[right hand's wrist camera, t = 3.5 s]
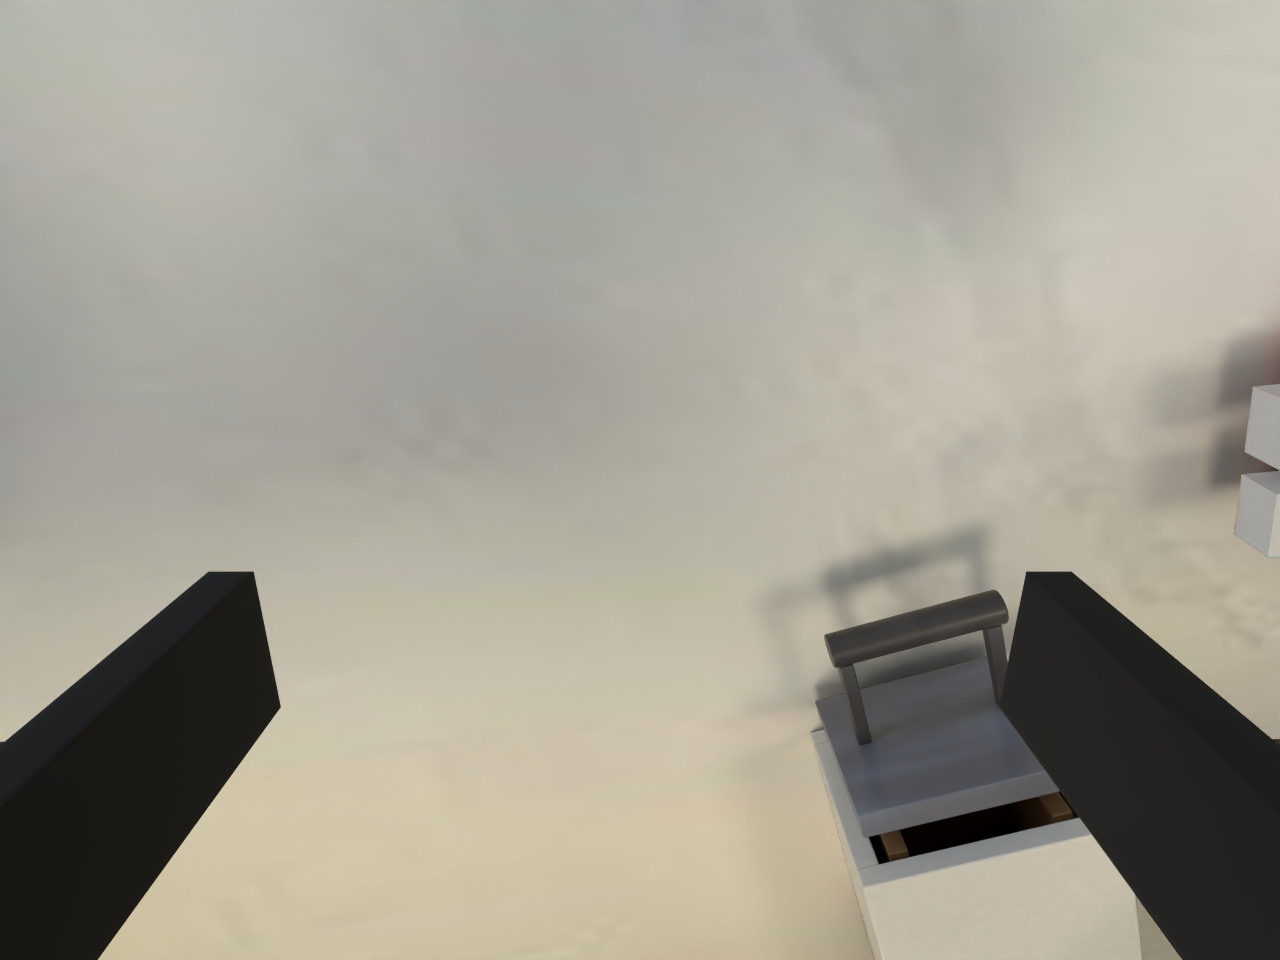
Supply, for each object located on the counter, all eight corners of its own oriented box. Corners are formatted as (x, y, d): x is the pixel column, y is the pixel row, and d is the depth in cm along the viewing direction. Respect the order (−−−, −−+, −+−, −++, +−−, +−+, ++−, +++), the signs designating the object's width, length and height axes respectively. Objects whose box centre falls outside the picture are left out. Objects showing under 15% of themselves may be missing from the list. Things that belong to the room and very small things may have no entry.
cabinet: (810, 732, 38) (862, 888, 29) (1011, 681, 37) (1128, 826, 28) (874, 959, 43) (934, 1148, 34) (1051, 920, 42) (1159, 1104, 33)
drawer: (788, 602, 34) (826, 702, 27) (984, 549, 33) (1076, 637, 26) (877, 926, 41) (925, 1071, 34) (1040, 889, 40) (1125, 1030, 33)
